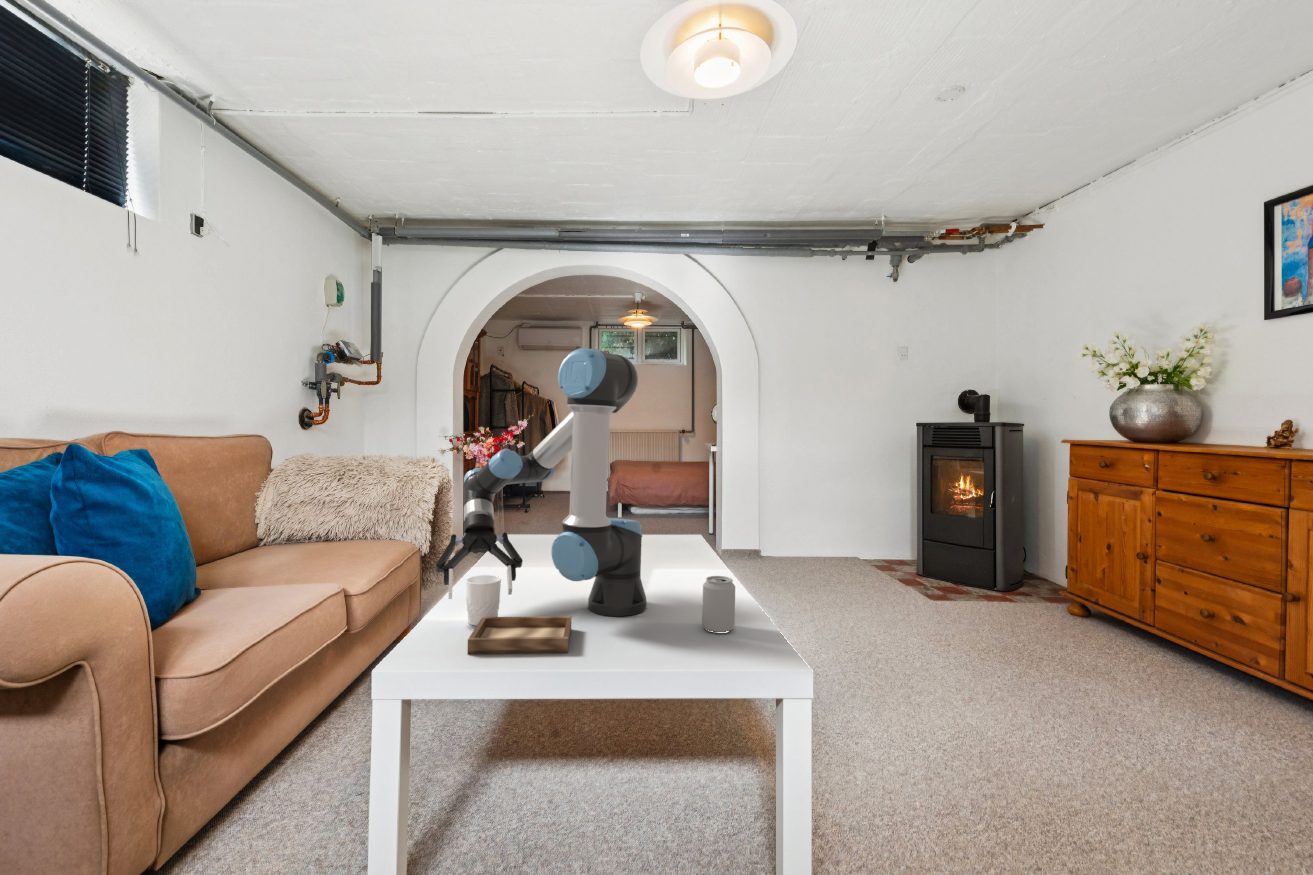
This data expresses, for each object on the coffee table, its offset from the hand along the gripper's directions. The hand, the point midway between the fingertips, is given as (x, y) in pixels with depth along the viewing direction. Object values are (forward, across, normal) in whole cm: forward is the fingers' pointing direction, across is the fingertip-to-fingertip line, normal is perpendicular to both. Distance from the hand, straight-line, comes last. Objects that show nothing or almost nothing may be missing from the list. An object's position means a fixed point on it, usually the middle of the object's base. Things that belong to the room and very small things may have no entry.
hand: (480, 594), depth 135 cm
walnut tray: (+16, -8, +7) cm, 19 cm away
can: (+20, -52, +10) cm, 57 cm away
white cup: (+5, -1, -4) cm, 7 cm away
